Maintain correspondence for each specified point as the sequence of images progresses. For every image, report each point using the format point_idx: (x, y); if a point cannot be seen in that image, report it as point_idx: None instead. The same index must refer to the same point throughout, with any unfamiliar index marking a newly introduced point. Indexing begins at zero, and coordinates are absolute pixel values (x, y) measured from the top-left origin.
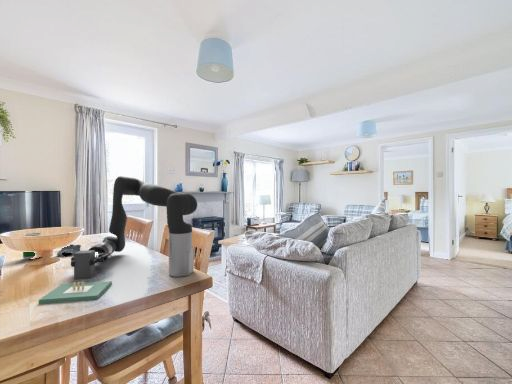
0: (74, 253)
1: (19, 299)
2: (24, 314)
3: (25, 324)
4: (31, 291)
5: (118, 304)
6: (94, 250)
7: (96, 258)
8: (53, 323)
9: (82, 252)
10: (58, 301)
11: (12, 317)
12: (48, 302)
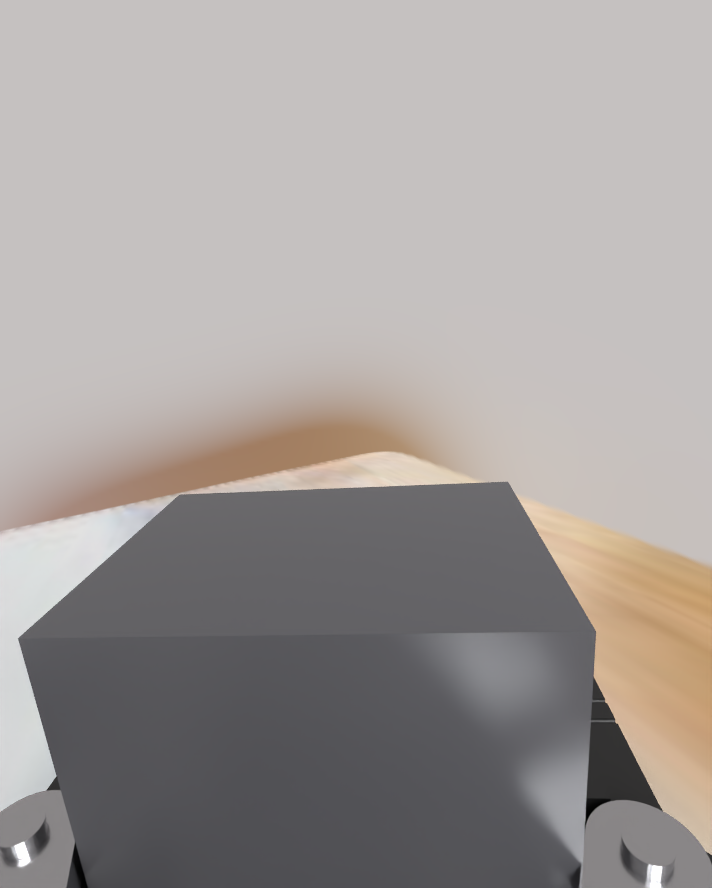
0: (496, 482)
1: (611, 563)
2: None
3: (379, 467)
4: (686, 642)
5: (101, 510)
6: (41, 621)
7: (54, 819)
8: (299, 468)
9: (354, 512)
10: None
11: None
12: None
